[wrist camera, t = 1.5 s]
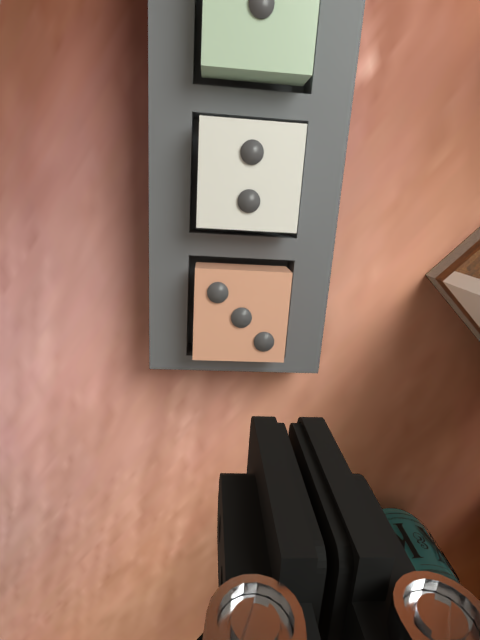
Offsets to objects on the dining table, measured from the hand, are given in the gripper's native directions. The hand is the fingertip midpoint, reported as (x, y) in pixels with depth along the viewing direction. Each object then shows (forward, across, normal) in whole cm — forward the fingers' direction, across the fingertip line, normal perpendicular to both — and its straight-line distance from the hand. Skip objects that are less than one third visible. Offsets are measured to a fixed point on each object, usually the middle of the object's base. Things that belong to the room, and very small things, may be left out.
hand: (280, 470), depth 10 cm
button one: (+14, 0, -14) cm, 20 cm away
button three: (+14, 0, 0) cm, 14 cm away
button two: (+14, 0, -7) cm, 16 cm away
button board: (+17, 0, -7) cm, 18 cm away
